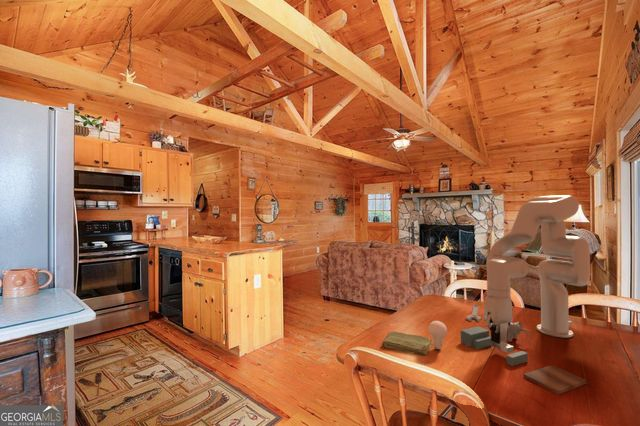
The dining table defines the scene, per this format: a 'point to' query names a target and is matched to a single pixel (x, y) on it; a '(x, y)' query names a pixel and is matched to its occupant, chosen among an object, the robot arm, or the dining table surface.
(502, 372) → the dining table surface
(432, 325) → the light bulb
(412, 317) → the dining table surface
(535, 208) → the robot arm
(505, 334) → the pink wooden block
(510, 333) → the grey monster figurine
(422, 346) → the washcloth
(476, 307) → the adjustable wrench
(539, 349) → the dining table surface
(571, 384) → the walnut board
